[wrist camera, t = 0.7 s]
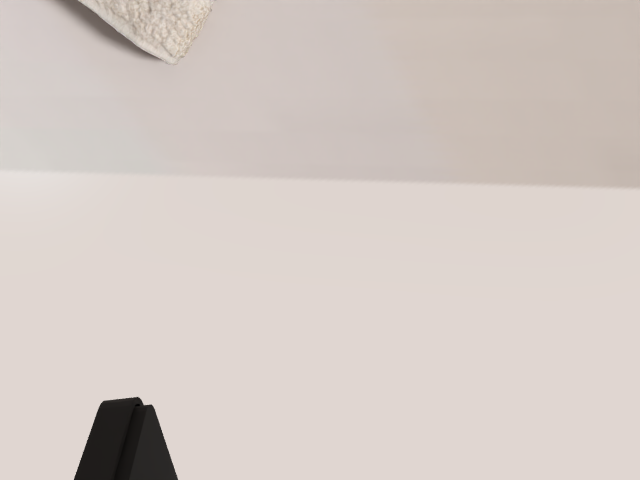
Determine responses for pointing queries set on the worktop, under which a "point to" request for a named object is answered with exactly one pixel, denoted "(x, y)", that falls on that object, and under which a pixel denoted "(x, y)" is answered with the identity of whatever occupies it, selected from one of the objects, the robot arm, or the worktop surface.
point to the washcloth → (155, 23)
